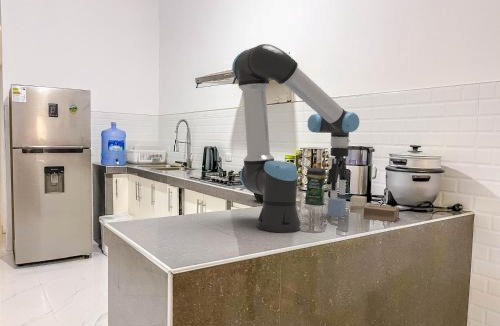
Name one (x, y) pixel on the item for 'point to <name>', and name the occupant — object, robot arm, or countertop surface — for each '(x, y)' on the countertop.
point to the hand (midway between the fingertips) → (338, 196)
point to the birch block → (358, 204)
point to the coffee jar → (315, 186)
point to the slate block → (336, 207)
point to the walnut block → (381, 213)
